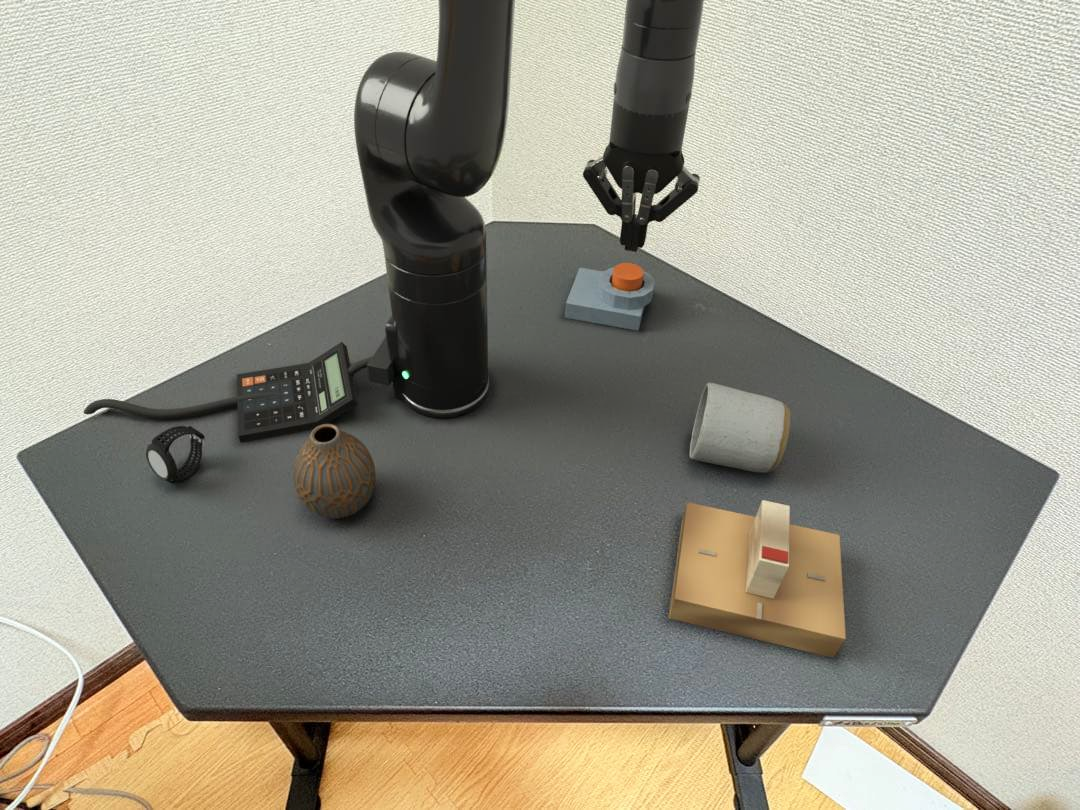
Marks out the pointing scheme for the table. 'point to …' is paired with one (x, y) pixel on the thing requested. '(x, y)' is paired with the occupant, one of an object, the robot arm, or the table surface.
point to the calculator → (296, 396)
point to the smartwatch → (164, 460)
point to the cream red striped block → (768, 549)
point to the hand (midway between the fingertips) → (631, 247)
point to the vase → (333, 473)
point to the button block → (607, 300)
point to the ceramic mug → (739, 429)
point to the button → (627, 277)
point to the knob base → (723, 604)
